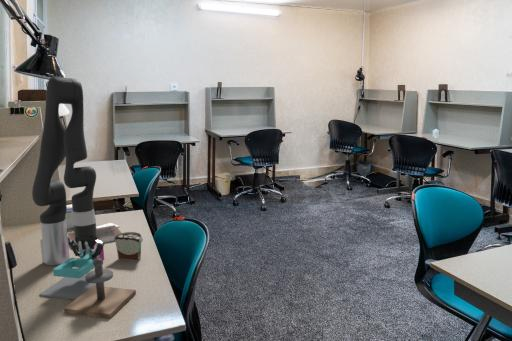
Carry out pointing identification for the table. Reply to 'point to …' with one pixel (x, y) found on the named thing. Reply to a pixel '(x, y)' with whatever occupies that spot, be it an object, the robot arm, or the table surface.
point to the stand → (100, 295)
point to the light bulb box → (69, 216)
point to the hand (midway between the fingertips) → (88, 266)
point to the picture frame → (102, 234)
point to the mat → (68, 288)
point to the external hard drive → (107, 225)
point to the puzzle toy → (100, 253)
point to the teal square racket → (68, 270)
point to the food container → (129, 246)
